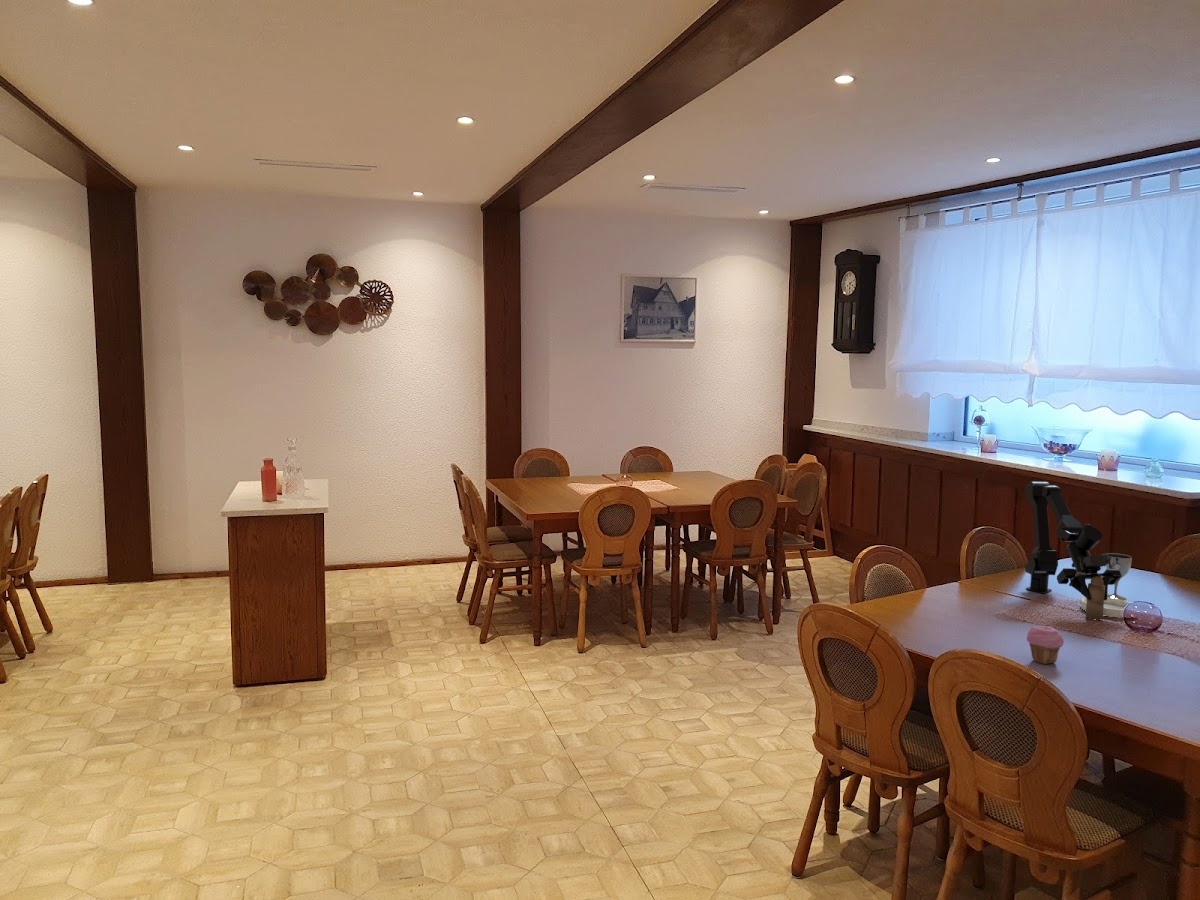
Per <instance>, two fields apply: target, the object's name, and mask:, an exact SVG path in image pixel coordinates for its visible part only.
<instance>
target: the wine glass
mask: <svg viewBox="0 0 1200 900" xmlns="http://www.w3.org/2000/svg"><path fill="white" fill-rule="evenodd" d="M1106 554H1108V556H1109V558H1110V563H1109V564H1107V565H1106V566H1105V570H1106V569H1117V570H1119V571H1120V572H1121V574H1122V577H1121V578H1120V579H1119V580H1118V581H1117V582H1116V583H1115V584H1113V586H1114V592H1113V593H1112V594H1111V593H1110V594H1107V597H1109V598H1115V599H1120V600H1124V601H1127V597H1125V596H1123V595H1122V596H1121V595H1119V594H1118V593H1117V591H1118V587H1119V586H1118V585H1119V582H1120V581H1121V579H1123V578H1124V577H1125V576H1126V575H1127V574H1128V573H1129V571H1130V569H1131V567H1132V559H1133V558H1132V556H1131V555H1128V554H1123V553H1118V552H1117V553H1116V552H1110V553H1109V552H1108V553H1107V552H1106Z"/></svg>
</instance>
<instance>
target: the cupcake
mask: <svg viewBox="0 0 1200 900" xmlns="http://www.w3.org/2000/svg"><path fill="white" fill-rule="evenodd" d="M1026 641H1027V642H1028V643H1029V647H1030V651H1031V652H1030V653H1031V657H1032V660H1034V661H1035V662H1038V663H1040V664H1043V665H1048V664H1055V663H1056V662H1057V660H1058V655H1059V650H1060V648H1062V647H1063V645H1064V641H1065V640H1064V638H1063V635H1062V634H1061V633H1060V632H1059V630H1058V629H1056V628H1055V627H1052V626H1047V625H1034V626H1031V627H1030V629H1029V630H1028V632H1027V636H1026Z"/></svg>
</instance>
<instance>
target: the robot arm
mask: <svg viewBox="0 0 1200 900" xmlns="http://www.w3.org/2000/svg"><path fill="white" fill-rule="evenodd" d="M1024 493H1025V497H1026V500H1027V501H1028V503H1029V504H1030V506H1031V509H1032V521H1033V534H1034V535H1033V536H1034V537H1033V539H1034V548H1033V549H1032V551H1031V553H1030V559H1029V561H1028V562H1027V563H1026V564H1025V565H1024V571H1025V573H1027V574H1029V575H1030V582H1029V586H1028V587H1026V588H1025V590H1028V591H1032V592H1037V593H1041V594H1046V593H1048V592H1052V591H1053V590H1052V588H1049V577H1050V576H1055V575H1056V573H1057V571H1058V570H1057V569H1058V566H1059V560H1058V551H1057V550H1056V549H1055V550H1054V549H1053V547H1052V546H1051V539H1050V537H1051V535H1050V524H1049V511H1048V506H1049V507H1050V509H1051V512H1052V515H1053V517H1055V520H1056V523H1057V525H1056V529H1055V530H1056V533H1057V537H1058V539H1059V541H1061V542H1063V543H1065V542H1066V543H1068V542H1069V543H1068V544H1067V545H1066V547H1065V550H1064V553H1065V554H1069V556H1070V559H1071V561H1072V564H1071V568H1068V567H1067V568H1065V567H1064V568H1062V570H1061V571H1060V572H1059V573H1058V574H1057V576H1056V581H1057V583H1058V585H1068V586H1069V587H1072V588H1073V589H1074V590H1076V591H1078V592H1079V593H1080V594H1081V595H1083V597H1086V598H1087V599H1088V600H1091V595H1090V592H1089V590H1088V584H1087V583H1086V580H1091V579H1092V578H1093V577H1095V576H1098V577H1101V578H1102V579H1103V585H1105V596H1104V600H1107V595H1108V590H1109V589H1108V588H1109V587H1108V586H1114V584H1115V583H1116V582H1117V581H1118V580H1119V579H1120V578H1121V577H1122V574H1121V572H1120V571H1119V570H1117V569H1106V568H1105V570H1104V572H1103V573H1101V572H1099V571H1101V570H1102V567H1106V565H1107V564H1109V563H1110V558H1109V556H1108V554H1107V553H1102V554H1100V555H1094V554H1093V555H1091V553H1090V550H1093V549H1094V548H1095V546H1097V544H1099V542H1100V541H1101V540H1102V538H1103V534H1102V532H1101V531H1100V530H1099V529H1098V528H1096V527H1094V526H1093V525H1092V524H1089V523H1088V524H1087V523H1086V524H1084V525H1083V526H1082V524H1081V522H1080V521H1078V519H1076V518H1074V517H1073V515H1072V513H1071V511H1070V509H1069V507H1068V505H1067V503H1066V501H1065V499H1064V497H1063V495H1062V490H1061V487H1059V486H1057V485H1051V484H1050V483H1049V482H1048V481H1029V482H1028V483H1027V484H1025V486H1024ZM1121 579H1122V578H1121ZM1121 579H1120V580H1121ZM1068 583H1069V584H1068Z"/></svg>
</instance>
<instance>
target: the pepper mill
mask: <svg viewBox="0 0 1200 900" xmlns="http://www.w3.org/2000/svg"><path fill="white" fill-rule="evenodd" d="M1087 588H1088V590H1089V592H1090V595H1091V600H1088V599H1087V604H1086V611H1085V614H1084V615H1085V616H1084V617H1087V618H1090V619H1096V620H1100V619H1102V620H1103V618H1104V616H1103V608H1104V596H1105V585H1103V579H1102V578H1101V577H1098V576H1095V577H1093V578H1092V579H1090V582H1089V583H1087ZM1087 618H1086V619H1087ZM1090 619H1089V620H1090Z"/></svg>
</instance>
